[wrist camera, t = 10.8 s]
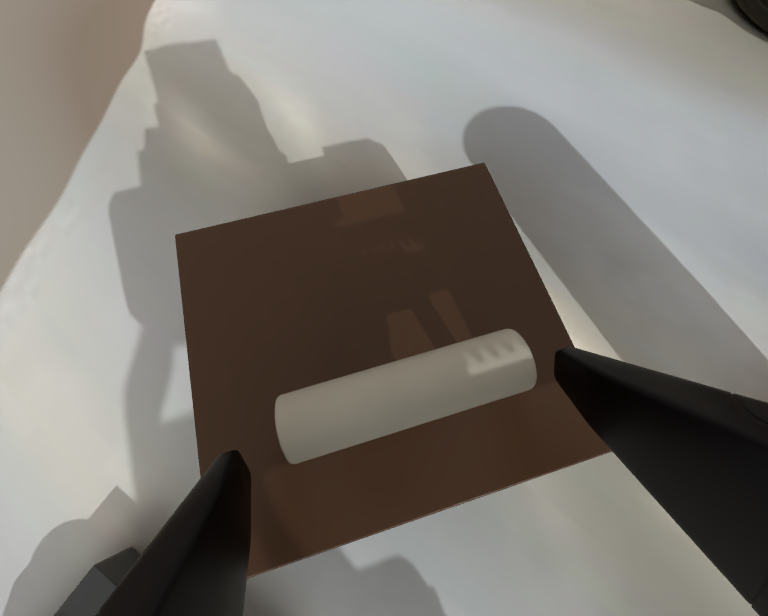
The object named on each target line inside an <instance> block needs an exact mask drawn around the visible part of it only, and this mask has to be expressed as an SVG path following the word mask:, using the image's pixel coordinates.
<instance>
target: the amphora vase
mask: <svg viewBox="0 0 768 616" xmlns="http://www.w3.org/2000/svg"><path fill="white" fill-rule="evenodd" d="M736 1H737V3H738V5H739V7H740V9H741V10H742V11H743V12H744V13H745V14H746V15H747V16H748V17H749V18H750V20H751V21H752V22H753V23H754V24H756V25H757V26H759V27H760V28H761V29H763V30H764V31H766V32H767V33H768V0H736Z"/></svg>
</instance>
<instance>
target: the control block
mask: <svg viewBox="0 0 768 616" xmlns="http://www.w3.org/2000/svg"><path fill="white" fill-rule="evenodd" d="M139 557H140V555H139V554H138V553H137V552H136V551H135V550H134V549H133V548H132V547H130V548H128V549H126V550H124V551H122V552H120V553H118V554H116V555H113V556H111V557H109V558H107V559H105V560H103V561H101V562H99V563H97V564H95V565H94V566H93V567H92V568H91V570H90V571H89V572H88V574H87V575H86V576H85V577H84V579H83V580H82V581H81V582H80V584H79V585H78V586H77V587H76V589H75V590H74V591H73V592H72V594H71V595H70V596H69V597H68V599H67V600H66V601H65V602H64V604H63V605H62V606H61V607H60V609H59V610H58V611H57V612H56V614H55V615H54V616H94V615H95V614H96V613H99V609H100V607H101V606H102V605H103V603H104V602H105V601H106V600H107V598H108V597H109V596H110V594H111V593H112V592H113V591H114V589H115V588H116V587H117V585H118V584H119V583H120V582H121V580H122V579H123V578H124V576H125V575H126V574H127V573H128V571H129V570H130V569H131V567H132V566H133V565H134V564H135V562H136V561H137V560H138V558H139Z"/></svg>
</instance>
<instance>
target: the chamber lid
mask: <svg viewBox="0 0 768 616" xmlns="http://www.w3.org/2000/svg"><path fill="white" fill-rule="evenodd" d="M175 239H176V249H177V258H178V267H179V277H180V286H181V296H182V305H183V315H184V324H185V333H186V343H187V352H188V362H189V371H190V381H191V390H192V399H193V409H194V418H195V428H196V437H197V447H198V456H199V465H200V475H201V478H202V476H203V475H204V474H205V472H206V471H207V470H208V469H209V467H210V466H211V465H212V463H213V462H214V461H215V460H216V458H217V457H218V456H219V455H220V454H222V453H225V452H228V451H231V450H238V451H239V452H240V454H241V456H242V457H243V459H244V461H245V463H246V464H247V466H248V468H249V470H250V473H251V544H250V554H249V563H248V572H247V579H248V578H250V577H253V576H256V575H259V574H262V573H265V572H268V571H271V570H273V569H276V568H279V567H282V566H285V565H288V564H291V563H293V562H296V561H299V560H302V559H305V558H308V557H311V556H314V555H316V554H319V553H322V552H325V551H328V550H331V549H334V548H336V547H339V546H342V545H345V544H348V543H351V542H354V541H357V540H359V539H362V538H365V537H368V536H371V535H374V534H377V533H379V532H382V531H385V530H388V529H391V528H394V527H397V526H400V525H402V524H405V523H408V522H411V521H414V520H417V519H420V518H422V517H425V516H428V515H431V514H434V513H437V512H440V511H442V510H445V509H448V508H451V507H454V506H457V505H460V504H463V503H465V502H468V501H471V500H474V499H477V498H480V497H483V496H485V495H488V494H491V493H494V492H497V491H500V490H503V489H506V488H508V487H511V486H514V485H517V484H520V483H523V482H526V481H528V480H531V479H534V478H537V477H540V476H543V475H546V474H549V473H551V472H554V471H557V470H560V469H563V468H566V467H569V466H571V465H574V464H577V463H580V462H583V461H586V460H589V459H591V458H594V457H597V456H600V455H603V454H606V453H609V452H612V450H611V449H610V448H609V447H608V446H607V445H606V444H605V443H604V441H603V440H602V439H601V438H600V437H599V436H598V435H597V434H596V433H595V431H594V430H593V429H592V428H591V427H590V426H589V424H588V423H587V422H586V420H585V419H584V418H583V417H582V415H581V414H580V412H579V411H578V410H577V408H576V407H575V406H574V404H573V403H572V402H571V400H570V399H569V398H568V396H567V395H566V393H565V392H564V391H563V389H562V388H561V387H560V385H559V384H558V383H557V381H556V379H555V377H554V359H555V353H556V351H557V350H560V349H563V348H567V347H573V348H575V347H574V345H573V343H572V341H571V339H570V337H569V335H568V333H567V331H566V329H565V327H564V324H563V322H562V320H561V318H560V316H559V314H558V312H557V310H556V308H555V306H554V304H553V302H552V300H551V298H550V296H549V294H548V292H547V290H546V288H545V286H544V284H543V282H542V280H541V277H540V275H539V273H538V271H537V269H536V267H535V265H534V263H533V261H532V259H531V257H530V255H529V253H528V251H527V249H526V247H525V245H524V243H523V241H522V239H521V237H520V235H519V233H518V230H517V228H516V226H515V224H514V222H513V220H512V218H511V216H510V214H509V212H508V210H507V208H506V206H505V204H504V202H503V200H502V198H501V196H500V194H499V192H498V190H497V188H496V186H495V183H494V181H493V179H492V177H491V175H490V173H489V171H488V169H487V167H486V165H485V163H481V164H476V165H472V166H468V167H464V168H459V169H455V170H451V171H446V172H442V173H438V174H434V175H429V176H425V177H421V178H417V179H412V180H408V181H404V182H399V183H395V184H391V185H387V186H382V187H378V188H374V189H369V190H365V191H361V192H357V193H352V194H348V195H344V196H340V197H335V198H331V199H327V200H322V201H318V202H314V203H310V204H305V205H301V206H297V207H293V208H288V209H284V210H280V211H275V212H271V213H267V214H263V215H258V216H254V217H250V218H245V219H241V220H237V221H233V222H228V223H224V224H220V225H216V226H211V227H207V228H203V229H198V230H194V231H190V232H186V233H181V234H177V235H175Z"/></svg>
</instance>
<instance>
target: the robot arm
mask: <svg viewBox="0 0 768 616" xmlns="http://www.w3.org/2000/svg"><path fill="white" fill-rule="evenodd" d="M554 377H555V379H556V381H557V383H558V384H559V385H560V387H561V388H562V389H563V391H564V392H565V393H566V395H567V396H568V398H569V399H570V400H571V402H572V403H573V404H574V406H575V407H576V408H577V410H578V411H579V412H580V414H581V415H582V417H583V418H584V419H585V420H586V422H587V423H588V424H589V426H590V427H591V428H592V429H593V430H594V431H595V433H596V434H597V435H598V436H599V437H600V438H601V439H602V440H603V441H604V443H605V444H606V445H607V446H608V447H609V448H610V449H611V450H612V451H613V453H614V454H615V455H616V456H617V457H618V458H619V459H620V460H621V462H622V463H623V464H624V465H625V466H626V467H627V468H628V469H629V470H630V472H631V473H632V474H633V475H634V476H635V477H636V478H637V479H638V480H639V482H640V483H641V484H642V485H643V486H644V487H645V488H646V489H647V490H648V492H649V493H650V494H651V495H652V496H653V497H654V498H655V499H656V500H657V502H658V503H659V504H660V505H661V506H662V507H663V508H664V509H665V510H666V512H667V513H668V514H669V515H670V516H671V517H672V518H673V519H674V521H675V522H676V523H677V524H678V525H679V526H680V527H681V528H682V529H683V531H684V532H685V533H686V534H687V535H688V536H689V537H690V538H691V539H692V541H693V542H694V543H695V544H696V545H697V546H698V547H699V548H700V549H701V551H702V552H703V553H704V554H705V555H706V556H707V557H708V558H709V559H710V561H711V562H712V563H713V564H714V565H715V566H716V567H717V568H718V569H719V571H720V572H721V573H722V574H723V575H724V576H725V577H726V578H727V580H728V581H729V582H730V583H731V584H732V585H733V586H734V587H735V588H736V590H737V591H738V592H739V593H740V594H741V595H742V596H743V597H744V598H745V600H746V601H747V602H748V603H749V604H752V608H753V609H754V610H755V611H756V612H757V613H758V614H759V616H768V403H766V402H763V401H759V400H755V399H752V398H748V397H745V396H741V395H738V394H731V393H730V392H727V391H724V390H720V389H717V388H713V387H710V386H706V385H703V384H699V383H696V382H692V381H689V380H685V379H682V378H678V377H675V376H671V375H668V374H664V373H661V372H657V371H654V370H650V369H647V368H643V367H640V366H636V365H633V364H629V363H626V362H622V361H619V360H615V359H612V358H608V357H605V356H601V355H598V354H594V353H591V352H587V351H584V350H580V349H577V348H573V347H567V348H563V349H560V350H557V351H556V353H555V359H554ZM250 544H251V473H250V470H249V468H248V466H247V464H246V463H245V461H244V459H243V457H242V456H241V454H240V452H239V451H238V450H231V451H228V452H225V453H222V454H220V455H219V456H218V457H217V458H216V460H215V461H214V462H213V463H212V465H211V466H210V467H209V469H208V470H207V471H206V472H205V474H204V475H203V476H202V478H201V479H200V480H199V481H198V483H197V484H196V485H195V487H194V488H193V489H192V490H191V492H190V493H189V494H188V496H187V497H186V498H185V499H184V501H183V502H182V503H181V505H180V506H179V507H178V508H177V510H176V511H175V512H174V514H173V515H172V516H171V517H170V519H169V520H168V521H167V523H166V524H165V525H164V526H163V528H162V529H161V530H160V532H159V533H158V534H157V535H156V537H155V538H154V539H153V540H152V542H151V543H150V544H149V546H148V547H147V548H146V549H145V551H144V552H143V553H142V555H141V556H140V557H139V558H138V560H137V561H136V562H135V564H134V565H133V566H132V567H131V569H130V570H129V571H128V573H127V574H126V575H125V576H124V578H123V579H122V580H121V582H120V583H119V584H118V585H117V587H116V588H115V589H114V591H113V592H112V593H111V594H110V596H109V597H108V598H107V600H106V601H105V602H104V603H103V605H102V606H101V607H100V609H99V613H96V614H95V615H94V616H243V608H244V599H245V590H246V581H247V572H248V563H249V554H250Z"/></svg>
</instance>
